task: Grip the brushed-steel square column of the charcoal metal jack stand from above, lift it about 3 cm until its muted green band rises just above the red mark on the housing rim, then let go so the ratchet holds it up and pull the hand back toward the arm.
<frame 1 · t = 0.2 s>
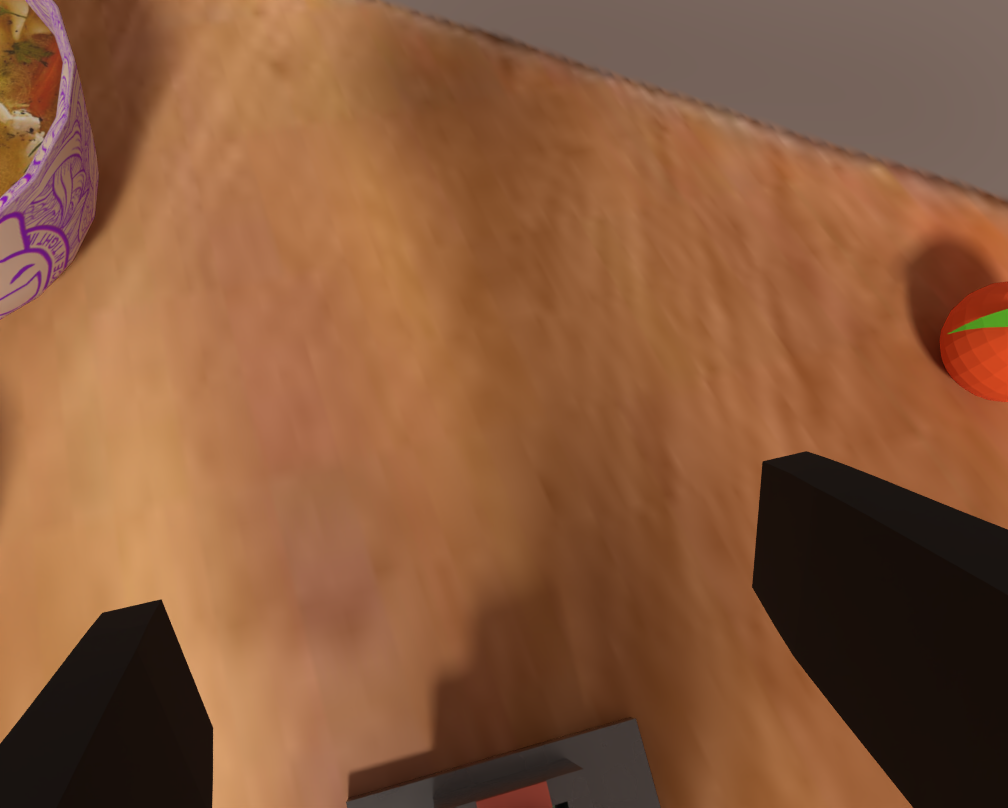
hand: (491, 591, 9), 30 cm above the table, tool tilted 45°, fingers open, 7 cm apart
clementine: (957, 365, 47), on the table
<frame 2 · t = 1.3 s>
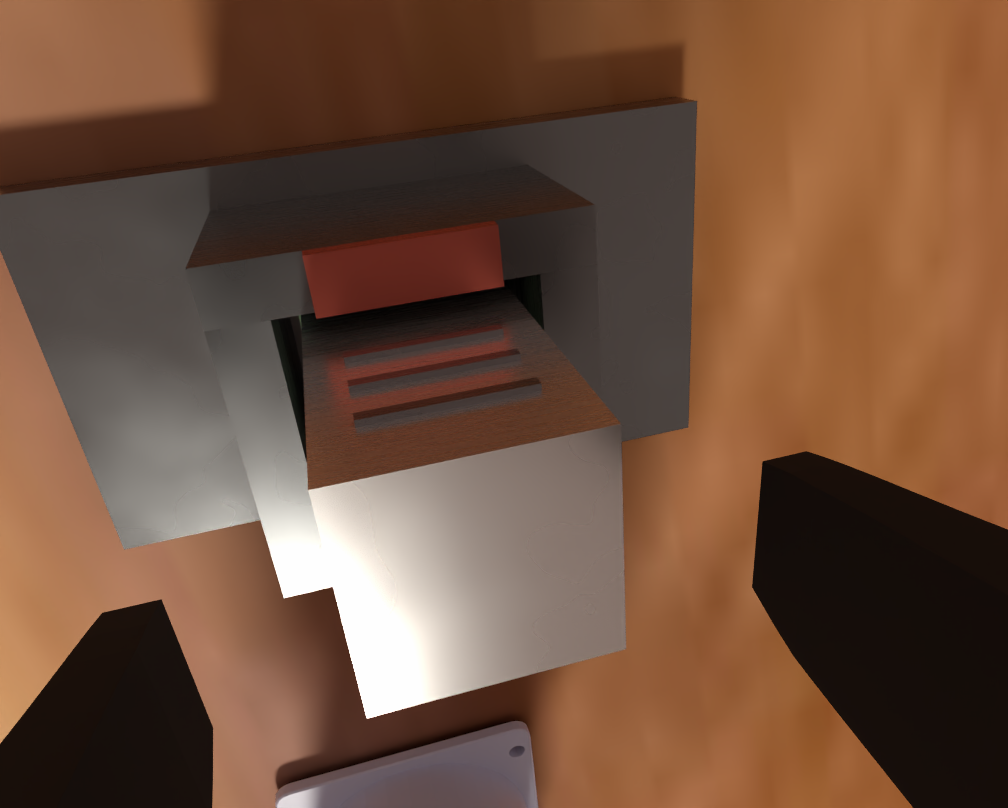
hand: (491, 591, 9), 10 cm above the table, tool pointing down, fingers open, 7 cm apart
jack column: (431, 424, 13), point 5 cm above the table, slide at 0.0 cm
jack housing: (394, 318, 18), on the table
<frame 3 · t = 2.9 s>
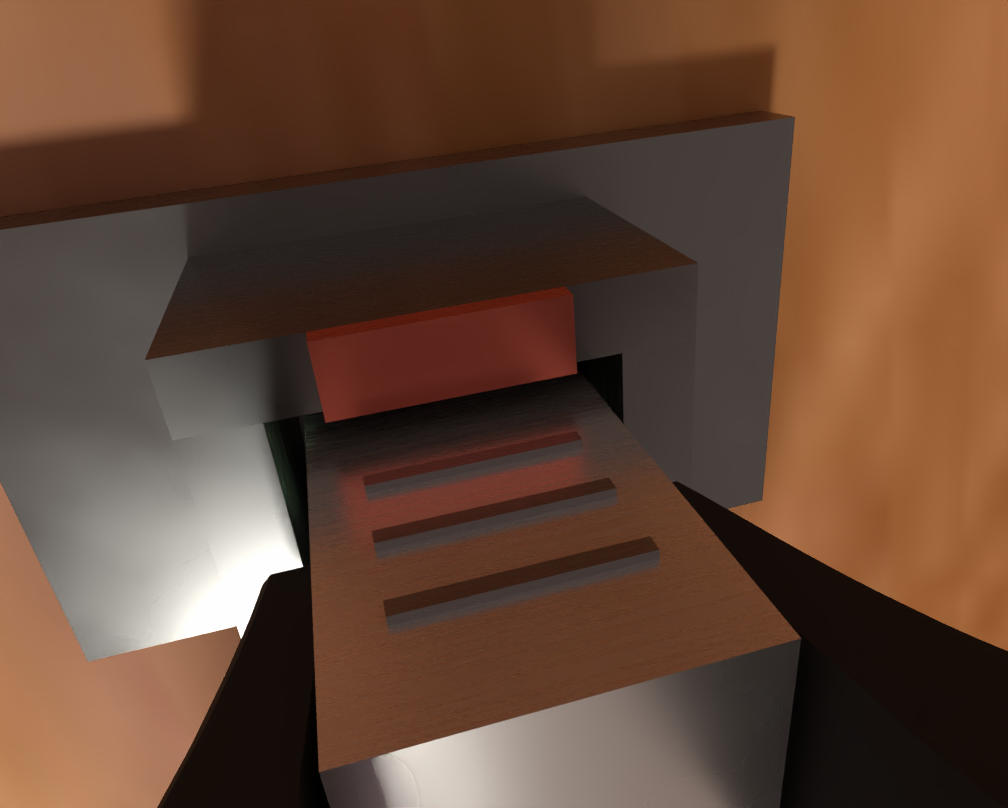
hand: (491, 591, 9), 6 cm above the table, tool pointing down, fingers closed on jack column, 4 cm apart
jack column: (476, 548, 10), point 5 cm above the table, slide at 0.0 cm, touching gripper
jack housing: (416, 379, 14), on the table
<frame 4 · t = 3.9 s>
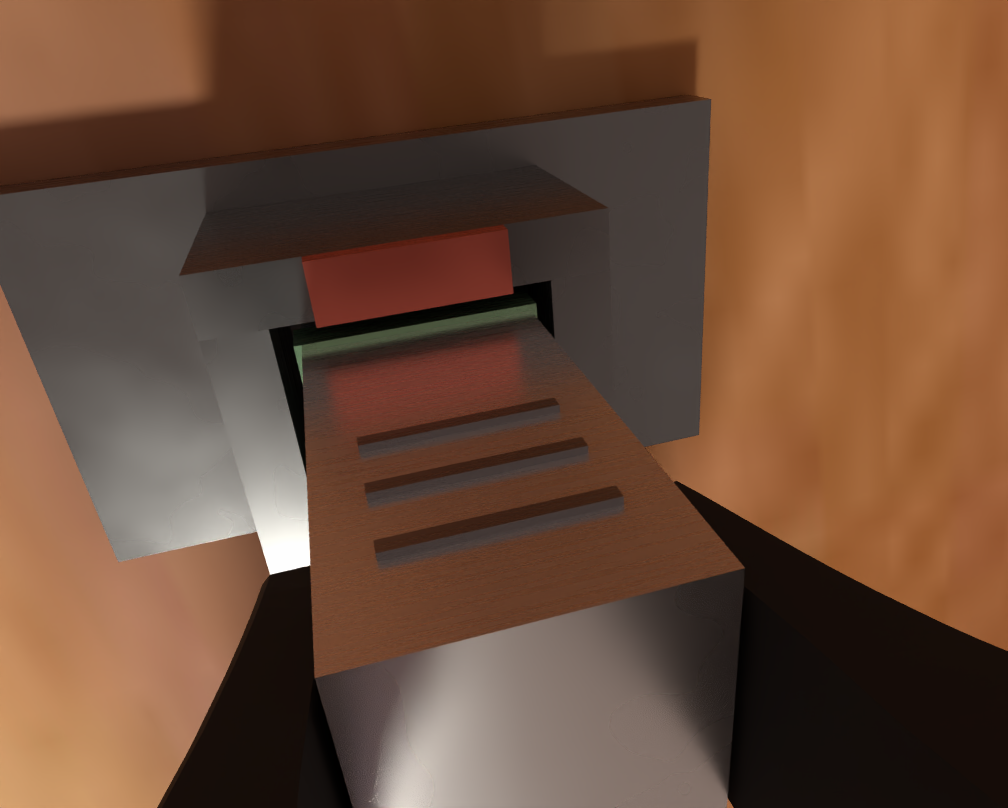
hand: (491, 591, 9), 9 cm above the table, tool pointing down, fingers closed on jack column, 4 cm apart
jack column: (463, 511, 11), point 8 cm above the table, slide at 2.2 cm, touching gripper
jack housing: (396, 323, 17), on the table
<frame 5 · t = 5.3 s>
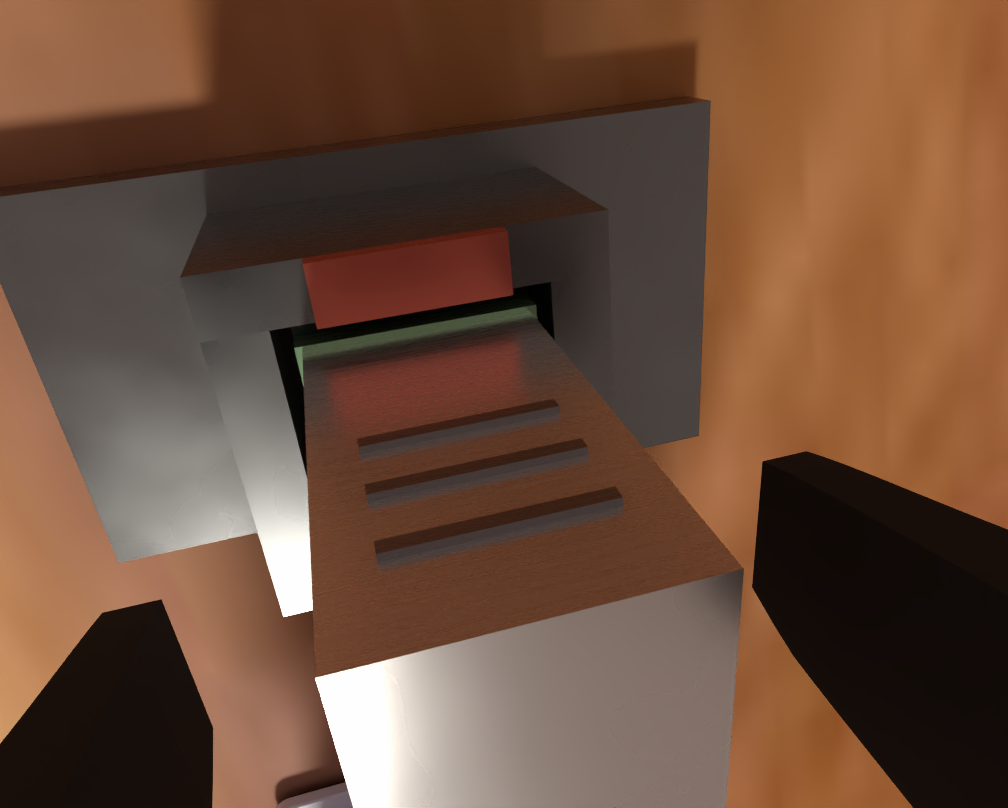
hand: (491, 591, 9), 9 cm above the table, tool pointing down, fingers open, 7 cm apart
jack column: (463, 512, 11), point 8 cm above the table, slide at 2.2 cm
jack housing: (397, 324, 17), on the table
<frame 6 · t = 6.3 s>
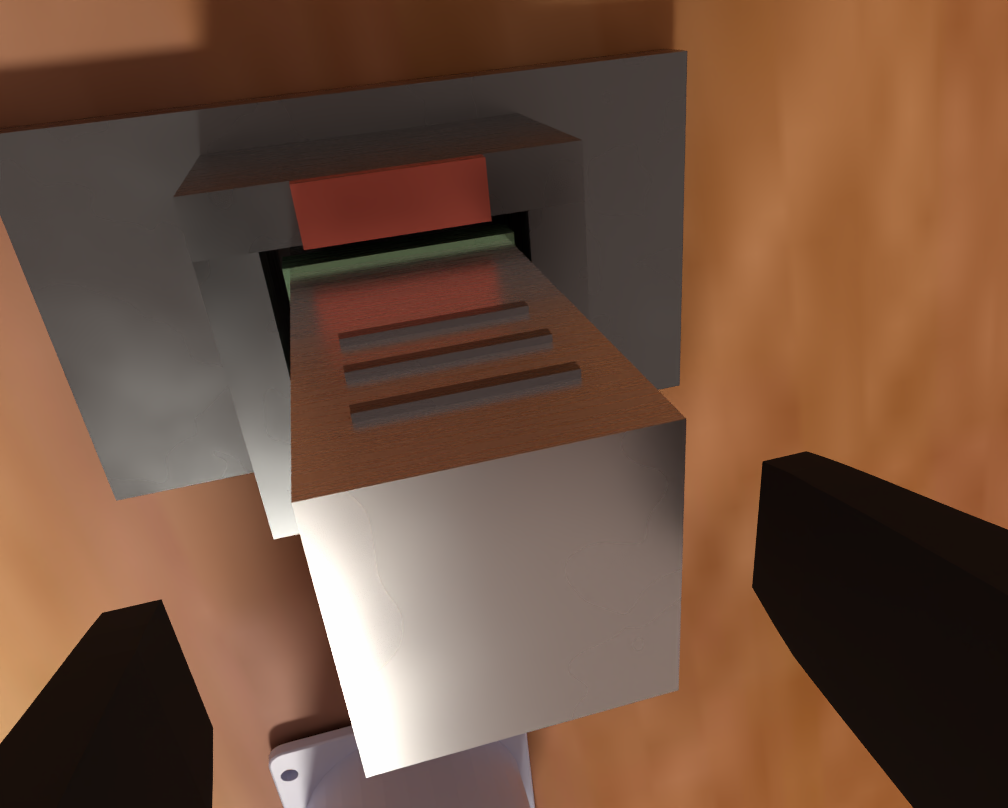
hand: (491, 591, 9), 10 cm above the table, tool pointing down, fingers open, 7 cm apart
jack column: (441, 419, 11), point 8 cm above the table, slide at 2.2 cm
jack housing: (385, 271, 18), on the table
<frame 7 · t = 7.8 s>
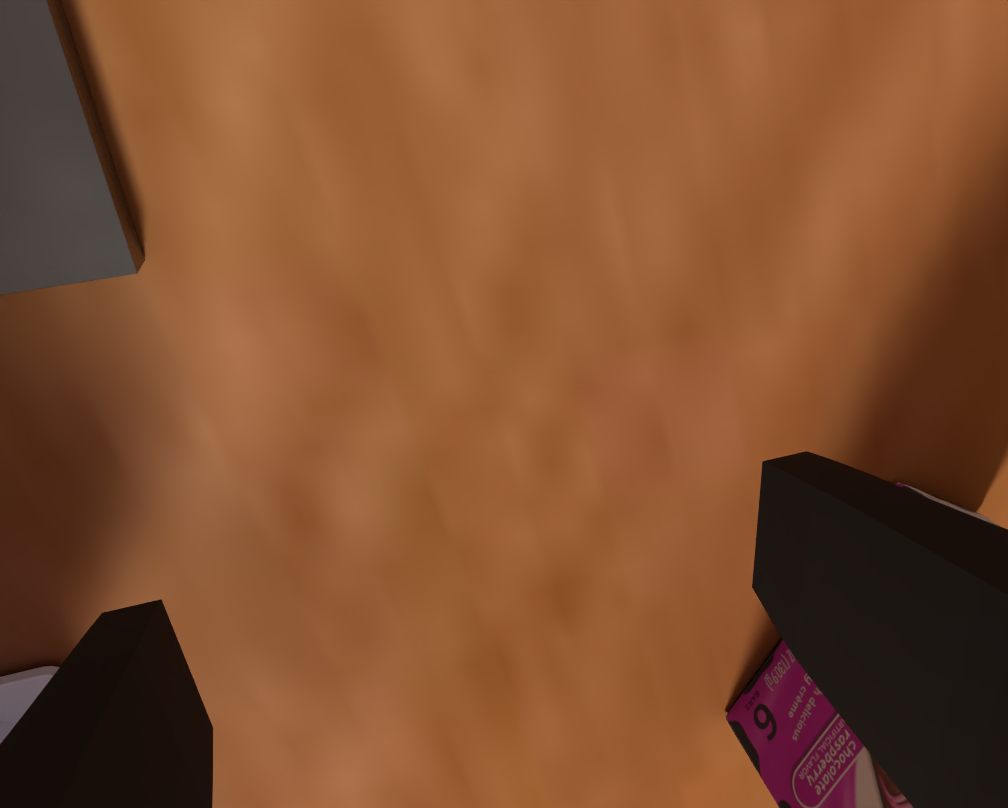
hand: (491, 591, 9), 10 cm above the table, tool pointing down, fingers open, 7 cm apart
candy bar box: (839, 613, 28), on the table
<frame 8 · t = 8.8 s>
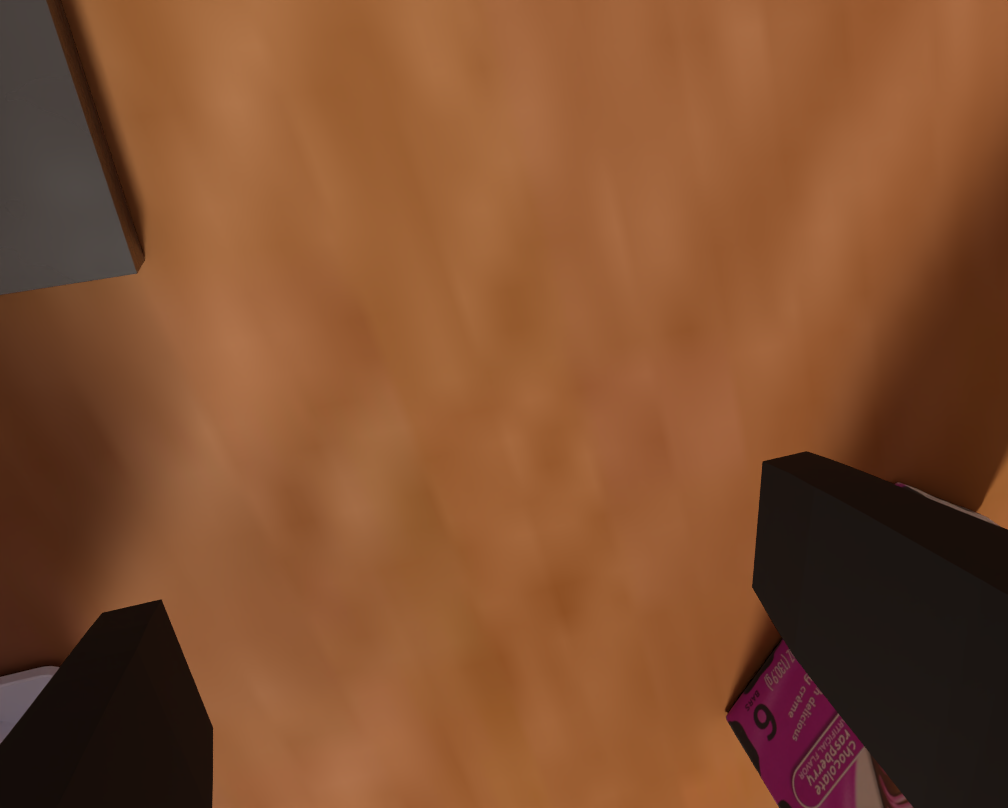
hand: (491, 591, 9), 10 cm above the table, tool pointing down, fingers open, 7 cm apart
candy bar box: (839, 613, 28), on the table
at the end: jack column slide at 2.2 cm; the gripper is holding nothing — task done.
